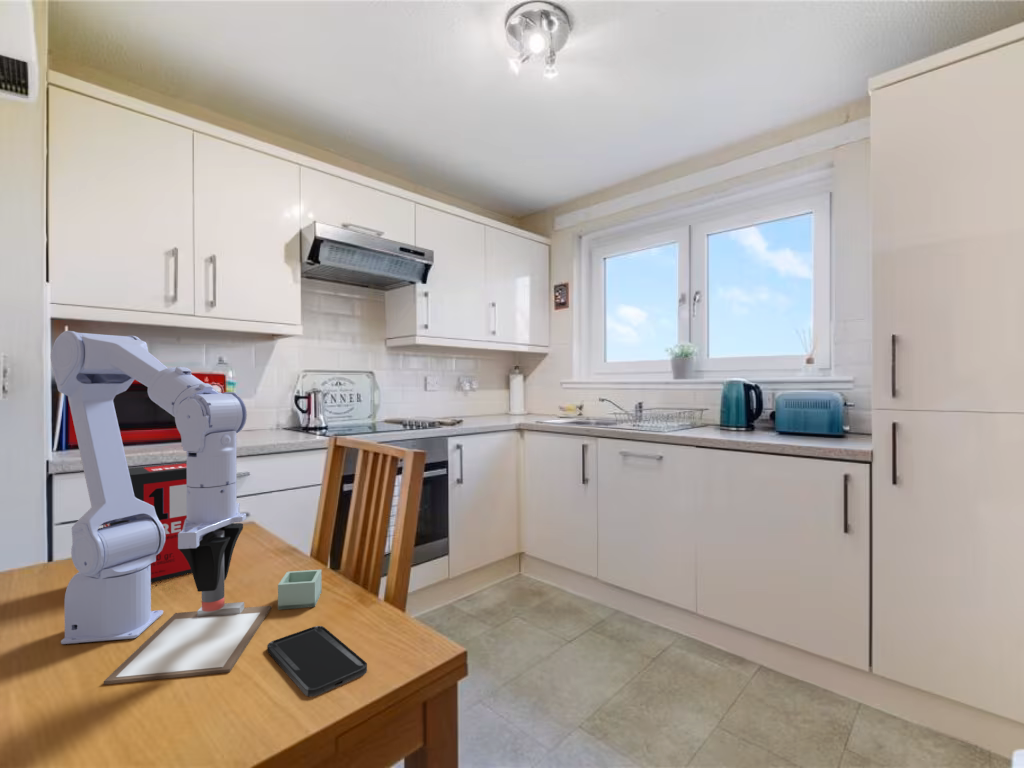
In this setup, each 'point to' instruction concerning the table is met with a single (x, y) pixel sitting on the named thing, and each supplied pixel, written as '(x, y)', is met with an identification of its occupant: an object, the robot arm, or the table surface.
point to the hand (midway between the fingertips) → (212, 585)
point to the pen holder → (299, 589)
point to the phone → (316, 660)
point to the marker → (216, 597)
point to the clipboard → (193, 644)
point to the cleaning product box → (164, 512)
